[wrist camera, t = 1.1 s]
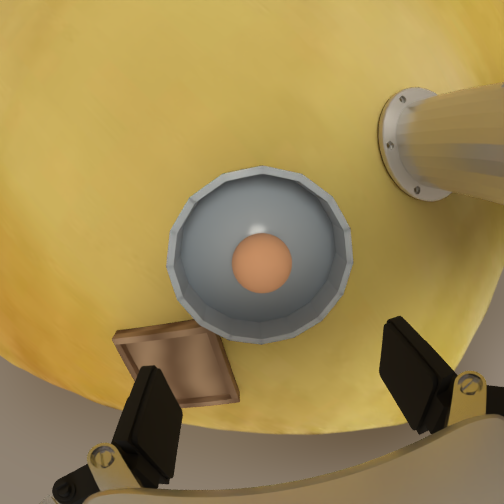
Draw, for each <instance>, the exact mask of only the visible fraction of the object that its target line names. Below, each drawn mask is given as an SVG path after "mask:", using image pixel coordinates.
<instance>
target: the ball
mask: <svg viewBox="0 0 504 504" xmlns="http://www.w3.org/2000/svg"><path fill="white" fill-rule="evenodd" d="M291 269H292V257H291V254H290V251H289V249H288V247H287V246H286V244H285V243H284V242H283V241H282V240H280V239H279V238H278V237H276V236H274V235H271V234H267V233H257V234H253V235H250V236H248V237H246V238H245V239H243V240H242V241H241V242H240V243H239V244H238V246H237V247H236V249H235V251H234V253H233V257H232V270H233V273H234V276H235V278H236V279H237V281H238V282H239V283H240V284H241V285H242V286H243V287H244V288H246V289H247V290H249V291H251V292H255V293H269V292H272V291H275V290H277V289H278V288H280V287H281V286H282V285H283V284H284V283H285V282H286V281H287V279H288V277H289V275H290V273H291Z"/></svg>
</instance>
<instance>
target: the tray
mask: <svg viewBox="0 0 504 504" xmlns="http://www.w3.org/2000/svg"><path fill="white" fill-rule="evenodd" d="M112 341H113V343H114V345H115V346H116V348H117V350H118V352H119V354H120V356H121V358H122V360H123V361H124V363H125V365H126V367H127V369H128V370H129V372H130V374H131V376H132V377H133V379H134V381H135V380H136V378H137V375H138V373H139V370H140V368H141V367H142V366H150V365H155V366H156V367H157V368H160V369H161V371H162V373H163V375H164V377H165V379H166V381H167V383H168V385H169V387H170V389H171V390H172V392H173V394H174V396H175V398H176V400H177V402H178V404H179V405H180V407H181V408H188V407H201V406H211V405H220V404H229V403H236V402H240V392H239V389H238V387H237V384H236V381H235V378H234V375H233V373H232V370H231V367H230V364H229V361H228V358H227V355H226V352H225V349H224V346H223V343H222V340H221V337H220V335H218V334H216V333H214V332H212V331H210V330H208V329H206V328H204V327H202V326H200V325H199V324H198V323H197V322H196V321H195V320H188V321H182V322H175V323H169V324H162V325H155V326H148V327H141V328H134V329H126V330H118V331H117V332H116V333H115V335H114V336H113V338H112Z"/></svg>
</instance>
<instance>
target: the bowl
mask: <svg viewBox="0 0 504 504" xmlns="http://www.w3.org/2000/svg"><path fill="white" fill-rule="evenodd" d="M257 233H267V234H271V235H274V236H276V237H278V238H279V239H280V240H282V241H283V242H284V243H285V244H286V246H287V247H288V249H289V251H290V254H291V257H292V269H291V273H290V275H289V277H288V279H287V281H286V282H285V283H284V284H283V285H282V286H281V287H280V288H278V289H277V290H275V291H272V292H269V293H255V292H251V291H249V290H247V289H246V288H244V287H243V286H242V285H241V284H240V283H239V282H238V281H237V279H236V278H235V276H234V273H233V270H232V257H233V253H234V251H235V249H236V247H237V246H238V244H239V243H240V242H241V241H242V240H243V239H245V238H246V237H248V236H250V235H253V234H257ZM352 265H353V253H352V241H351V231H350V227H349V225H348V223H347V221H346V220H345V218H344V216H343V214H342V212H341V210H340V209H339V207H338V205H337V203H336V202H335V200H334V198H333V196H331V195H330V194H328V193H327V192H326V191H324V190H323V189H322V188H320V187H319V186H318V185H316V184H315V183H313V182H312V181H311V180H309V179H308V178H307V177H305V176H304V175H303V174H299V173H295V172H290V171H286V170H281V169H277V168H272V167H267V166H256V167H251V168H246V169H241V170H237V171H232V172H228V173H223V174H222V175H220V176H219V177H217V178H216V179H215V180H213V181H212V182H210V183H209V184H207V185H206V186H205V187H203V188H202V189H201V190H199V191H198V192H196V193H195V194H194V195H192V196H191V197H190V198H189V199H188V201H187V203H186V204H185V206H184V208H183V209H182V211H181V213H180V215H179V216H178V218H177V220H176V221H175V223H174V225H173V227H172V229H171V230H170V236H169V245H168V255H167V266H166V268H167V270H168V274H169V277H170V280H171V283H172V286H173V289H174V292H175V295H176V298H177V300H178V301H179V302H180V304H181V305H182V306H183V307H184V308H185V309H186V310H187V312H188V313H189V314H190V315H191V316H192V317H193V318H194V320H195V321H196V322H197V323H198V324H199V325H200V326H202V327H204V328H206V329H208V330H210V331H212V332H214V333H216V334H218V335H220V336H222V337H224V338H226V339H227V340H231V341H238V342H246V343H254V344H266V343H271V342H276V341H281V340H285V339H290V338H294V337H296V336H297V335H299V334H301V333H302V332H304V331H306V330H307V329H309V328H311V327H312V326H314V325H316V324H317V323H319V322H320V321H322V320H323V319H324V318H325V316H326V315H327V314H328V313H329V312H330V310H331V309H332V308H333V307H334V305H335V304H336V303H337V302H338V300H339V299H340V298H341V296H342V295H343V293H344V290H345V287H346V284H347V281H348V278H349V275H350V272H351V268H352Z"/></svg>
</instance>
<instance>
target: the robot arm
mask: <svg viewBox="0 0 504 504" xmlns="http://www.w3.org/2000/svg"><path fill="white" fill-rule="evenodd" d="M378 138H379V145H380V151H381V155H382V158H383V162H384V164H385V166H386V168H387V171H388V173H389V174H390V176H391V177H392V179H393V180H394V182H395V183H396V184H397V185H398V186H399V187H400V189H401V190H403V191H404V192H405V193H407V194H408V195H410V196H412V197H414V198H416V199H419V200H423V201H431V202H433V201H439V200H441V199H443V198H446V197H447V196H448V195H450V194H451V193H452V192H454V193H459V194H463V195H467V196H472V197H476V198H480V199H484V200H487V201H491V202H495V203H498V204H502V205H504V82H503V83H496V84H490V85H484V86H479V87H473V88H468V89H463V90H459V91H454V92H450V93H445V94H441V95H437V94H436V93H434V92H432V91H430V90H428V89H425V88H420V87H410V88H407V89H404V90H401V91H399V92H397V93H395V94H394V95H393V96H392V97H391V98H390V99H389V100H388V102H387V103H386V105H385V106H384V108H383V111H382V113H381V116H380V122H379V136H378ZM387 145H388V148H387ZM379 373H380V377H381V378H382V380H383V382H384V383H385V385H386V386H387V388H388V390H389V391H390V393H391V395H392V396H393V398H394V400H395V401H396V403H397V405H398V406H399V408H400V410H401V411H402V413H403V415H404V416H405V418H406V420H407V421H408V423H409V425H410V427H411V428H412V429H413V430H417V432H418V434H422V433H424V432H426V431H428V430H429V431H430V433H431V435H429V436H428V437H425V438H423V439H421V440H419V441H417V442H415V443H413V444H410V445H408V446H406V447H403V448H401V449H399V450H396V451H394V452H392V453H389V454H387V455H384V456H382V457H379V458H376V459H373V460H371V461H368V462H365V463H362V464H359V465H356V466H353V467H350V468H346V469H343V470H339V471H336V472H333V473H329V474H325V475H321V476H317V477H312V478H308V479H303V480H299V481H293V482H288V483H281V484H276V485H269V486H260V487H251V488H241V489H226V490H169V489H157V488H158V484H169V480H170V478H173V475H174V469H175V462H176V455H177V448H178V442H179V435H180V429H181V423H182V416H183V414H182V409H181V407H180V405H179V404H178V402H177V400H176V398H175V396H174V394H173V392H172V390H171V389H170V387H169V385H168V383H167V381H166V379H165V377H164V375H163V373H162V371H161V369H160V368H157V367H156V366H155V365H150V366H142V367H141V368H140V370H139V373H138V375H137V378H136V380H135V383H134V386H133V388H132V391H131V393H130V396H129V397H128V399H127V401H126V404H125V406H124V409H123V412H122V414H121V417H120V420H119V423H118V425H117V428H116V431H115V434H114V437H113V439H112V442H111V444H109V443H101V444H97V445H96V446H94V447H93V448H92V449H91V450H90V451H89V453H88V455H87V462H88V464H86V465H85V466H83V467H81V468H79V469H77V470H76V471H74V472H72V473H70V474H68V475H66V476H64V477H62V478H60V479H58V480H57V481H56V482H55V484H54V486H53V490H52V493H53V496H52V497H51V496H50V495H48V496H47V497H46V498H45V499H44V500H43V501H41V502H40V503H39V504H504V387H498V386H489V385H486V380H485V379H484V377H483V376H482V375H480V374H479V373H477V372H474V371H465V372H463V373H461V374H459V375H457V374H456V373H455V372H454V371H453V370H452V369H451V367H450V366H449V365H448V364H447V363H446V362H445V361H444V360H443V359H442V358H441V356H440V355H439V354H438V353H437V352H436V351H435V350H434V349H433V348H432V347H431V346H430V345H429V344H428V343H427V341H425V340H424V339H423V338H422V337H421V336H420V335H419V334H418V333H417V332H416V331H415V330H414V329H413V328H412V327H411V326H410V324H409V323H408V322H407V321H406V320H405V319H404V318H403V317H401V316H397V317H394V318H391V319H389V320H388V321H387V324H385V325H384V329H383V341H382V351H381V359H380V367H379Z"/></svg>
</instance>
